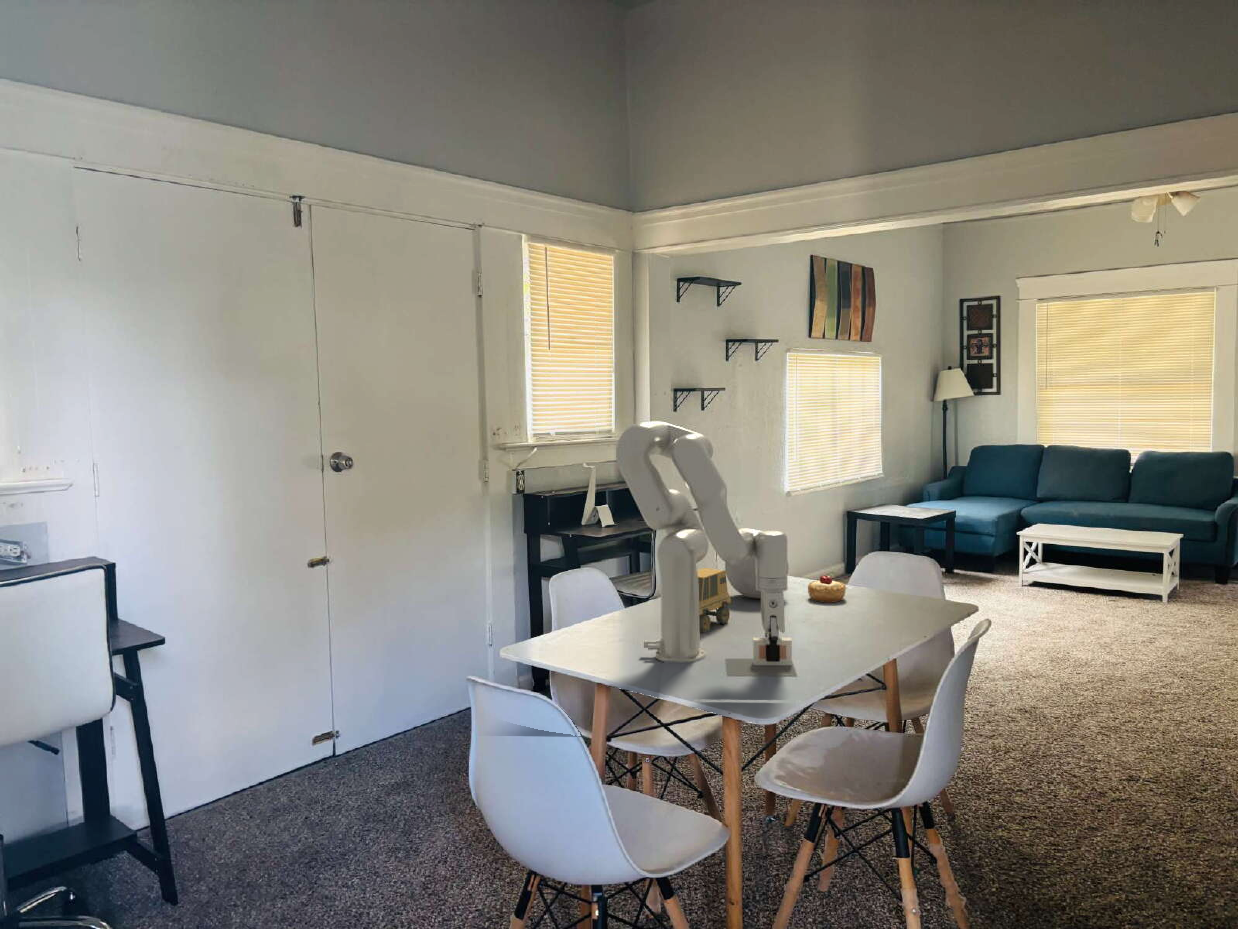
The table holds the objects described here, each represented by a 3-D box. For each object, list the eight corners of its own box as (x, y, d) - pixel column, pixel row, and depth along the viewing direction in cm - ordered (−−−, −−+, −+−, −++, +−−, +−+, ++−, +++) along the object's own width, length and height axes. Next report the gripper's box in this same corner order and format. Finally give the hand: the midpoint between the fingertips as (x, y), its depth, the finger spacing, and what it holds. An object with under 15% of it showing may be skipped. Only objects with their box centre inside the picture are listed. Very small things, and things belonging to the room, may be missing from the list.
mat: (727, 678, 214) (727, 676, 214) (725, 661, 228) (725, 658, 228) (797, 679, 213) (797, 676, 212) (791, 661, 226) (791, 659, 226)
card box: (753, 665, 222) (753, 640, 221) (753, 662, 224) (752, 637, 224) (791, 665, 221) (791, 640, 221) (790, 662, 224) (790, 637, 223)
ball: (793, 604, 287) (792, 540, 286) (728, 605, 288) (727, 541, 286) (783, 590, 307) (783, 530, 305) (722, 591, 308) (722, 531, 306)
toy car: (668, 630, 258) (667, 577, 257) (702, 616, 274) (702, 566, 273) (700, 635, 252) (699, 581, 251) (733, 621, 268) (733, 569, 267)
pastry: (803, 597, 299) (802, 570, 298) (840, 595, 299) (839, 568, 299) (813, 604, 287) (812, 576, 286) (851, 602, 288) (850, 574, 287)
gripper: (791, 590, 213) (791, 668, 214) (784, 576, 230) (784, 648, 231) (757, 590, 213) (758, 668, 215) (753, 576, 230) (754, 648, 232)
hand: (771, 657), depth 223 cm, fingers open, 5 cm apart
